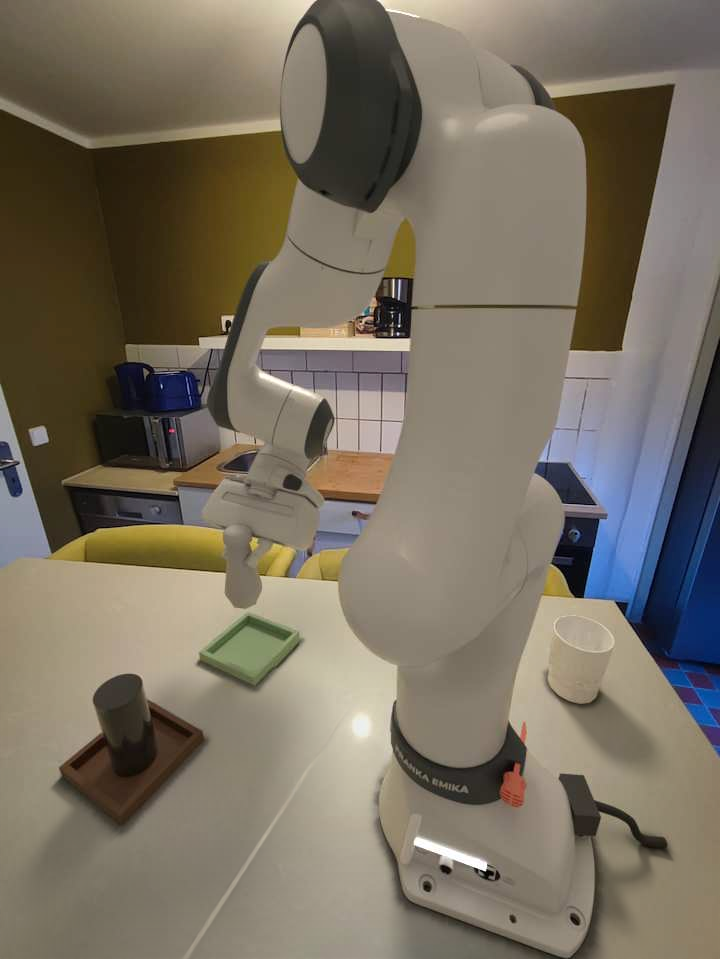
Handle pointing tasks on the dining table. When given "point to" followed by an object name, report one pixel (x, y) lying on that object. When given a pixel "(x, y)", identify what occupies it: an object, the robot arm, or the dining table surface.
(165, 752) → the dark tray
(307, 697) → the dining table surface
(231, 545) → the salt shaker
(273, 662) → the light tray
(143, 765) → the pepper shaker
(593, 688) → the white cup
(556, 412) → the robot arm
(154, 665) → the dining table surface
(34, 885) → the dining table surface
